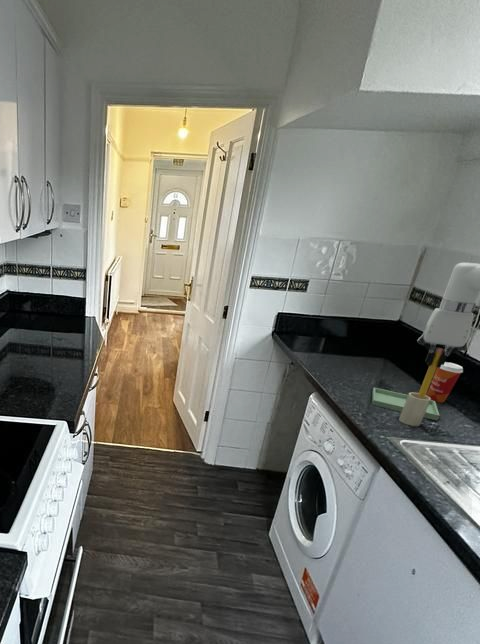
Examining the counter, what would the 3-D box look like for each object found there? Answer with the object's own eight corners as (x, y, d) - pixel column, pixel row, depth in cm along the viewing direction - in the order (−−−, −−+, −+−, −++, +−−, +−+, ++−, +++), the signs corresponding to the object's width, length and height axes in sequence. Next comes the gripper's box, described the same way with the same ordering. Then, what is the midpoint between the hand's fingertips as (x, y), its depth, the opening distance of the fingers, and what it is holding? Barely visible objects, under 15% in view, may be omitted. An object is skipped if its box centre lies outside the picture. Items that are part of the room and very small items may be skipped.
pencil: (424, 395, 133) (443, 348, 126) (425, 397, 131) (444, 349, 125) (417, 394, 133) (436, 347, 127) (418, 396, 132) (436, 348, 126)
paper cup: (418, 393, 160) (433, 360, 154) (439, 395, 159) (455, 362, 153) (430, 402, 153) (446, 368, 147) (452, 405, 152) (469, 370, 146)
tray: (432, 405, 151) (435, 400, 150) (437, 420, 140) (439, 415, 139) (372, 392, 160) (373, 387, 159) (371, 405, 149) (373, 400, 148)
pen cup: (418, 422, 138) (429, 395, 134) (420, 429, 133) (431, 401, 129) (397, 417, 140) (408, 390, 136) (398, 424, 136) (409, 396, 132)
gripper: (488, 308, 120) (463, 367, 127) (422, 300, 128) (402, 357, 135) (494, 313, 114) (467, 375, 122) (424, 304, 122) (403, 363, 129)
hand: (433, 365), depth 128 cm, fingers closed on pencil, 1 cm apart
